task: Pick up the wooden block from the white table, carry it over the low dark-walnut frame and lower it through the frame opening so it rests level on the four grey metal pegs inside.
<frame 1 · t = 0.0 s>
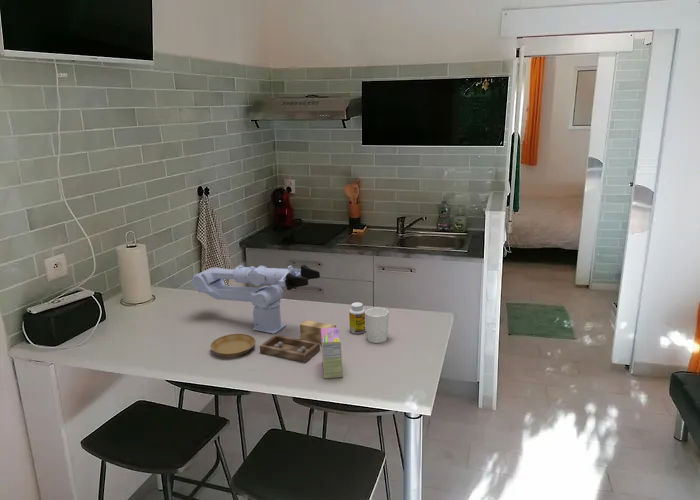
hand: (313, 278, 181), 22 cm above the worktop, tool horizontal, fingers open, 7 cm apart
wooden block: (318, 341, 184), on the worktop
supplement bottle: (357, 331, 191), on the worktop
plant saucer: (234, 350, 180), on the worktop
box: (332, 370, 165), on the worktop
walnut peg frame: (290, 351, 177), on the worktop
white cup: (377, 339, 184), on the worktop
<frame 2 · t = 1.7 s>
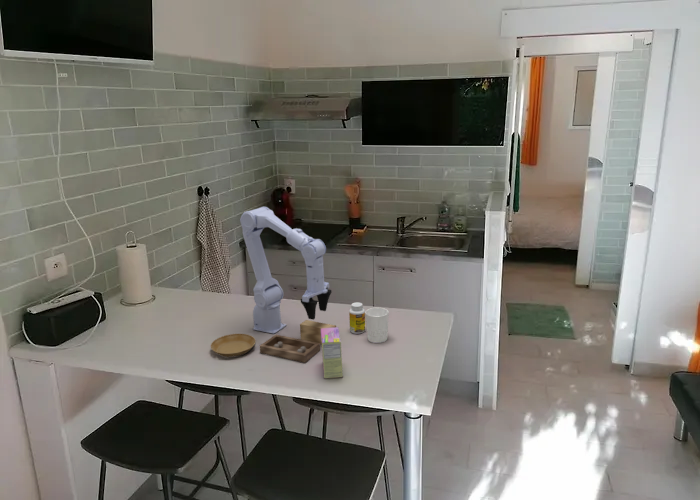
hand: (317, 314, 182), 10 cm above the worktop, tool pointing down, fingers open, 7 cm apart
nothing on the worktop moved.
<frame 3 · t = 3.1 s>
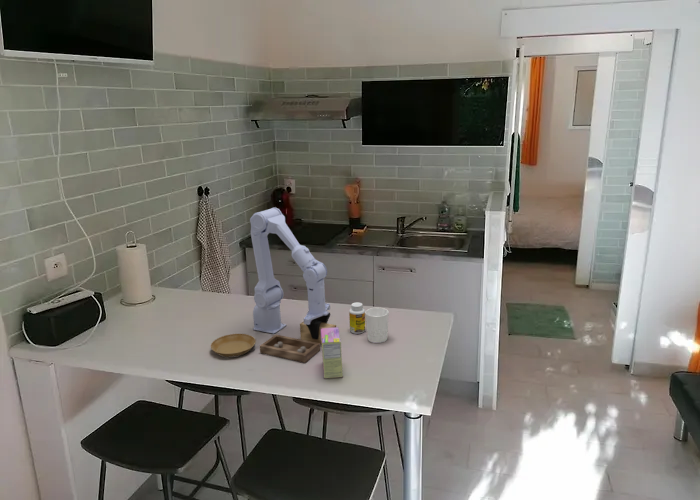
hand: (318, 335, 184), 2 cm above the worktop, tool pointing down, fingers closed on wooden block, 4 cm apart
wooden block: (318, 340, 184), on the worktop, touching gripper
everything else where it was.
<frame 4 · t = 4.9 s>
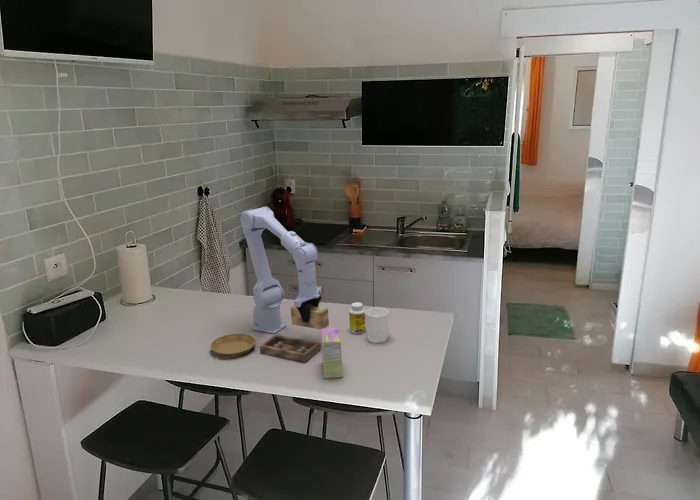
hand: (309, 319, 180), 9 cm above the worktop, tool pointing down, fingers closed on wooden block, 4 cm apart
wooden block: (310, 324, 180), point 7 cm above the worktop, touching gripper
everything else where it was.
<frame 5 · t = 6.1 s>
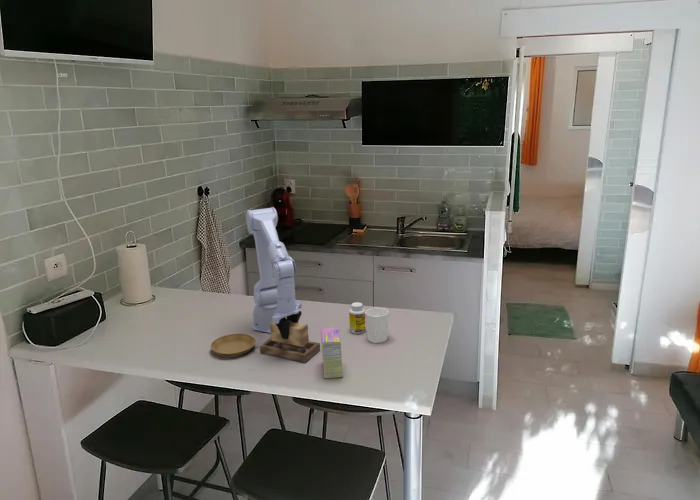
hand: (289, 335, 175), 6 cm above the worktop, tool pointing down, fingers closed on wooden block, 4 cm apart
wooden block: (289, 341, 176), point 4 cm above the worktop, touching gripper
everything else where it was.
when the fingers open (5 cm above the worktop, at t = 6.8 s): wooden block stays where it is, resting on walnut peg frame.
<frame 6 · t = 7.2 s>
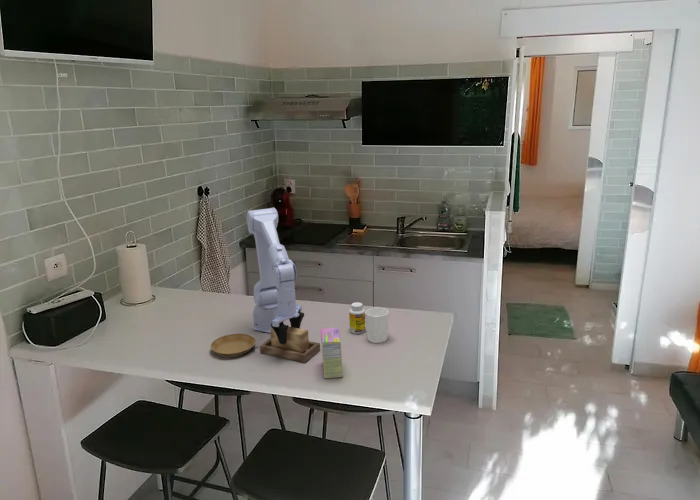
hand: (289, 338, 176), 5 cm above the worktop, tool pointing down, fingers open, 7 cm apart
wooden block: (290, 346, 176), point 2 cm above the worktop, touching walnut peg frame
everything else where it was.
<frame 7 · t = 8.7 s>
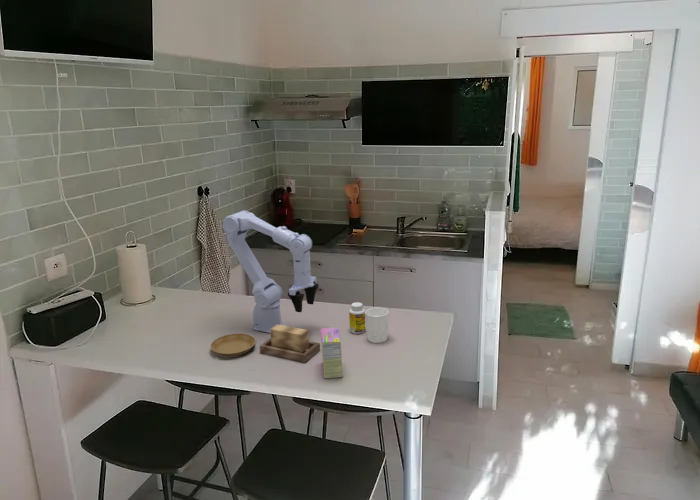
hand: (304, 307, 187), 10 cm above the worktop, tool pointing down, fingers open, 7 cm apart
nothing on the worktop moved.
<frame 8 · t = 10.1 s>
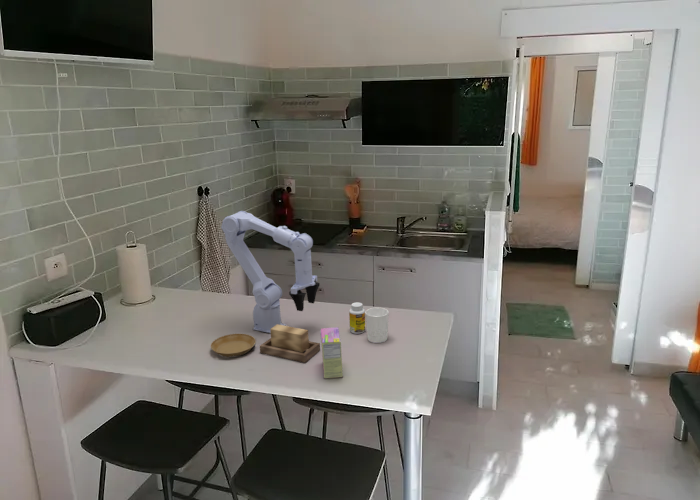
hand: (305, 306, 188), 10 cm above the worktop, tool pointing down, fingers open, 7 cm apart
nothing on the worktop moved.
at the end: wooden block 0.2 cm off-centre on the walnut peg frame, point 2.0 cm above the walnut peg frame's base; wooden block tilted 0°; the gripper is holding nothing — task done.
